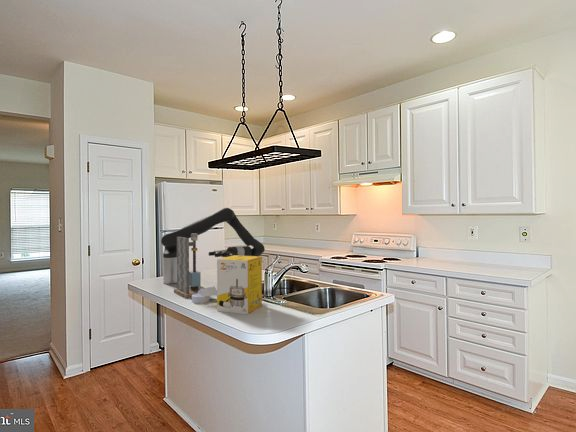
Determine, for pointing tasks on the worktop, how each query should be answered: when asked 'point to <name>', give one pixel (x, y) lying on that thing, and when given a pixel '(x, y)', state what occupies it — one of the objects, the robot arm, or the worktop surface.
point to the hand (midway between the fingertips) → (211, 254)
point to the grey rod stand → (185, 266)
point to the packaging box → (239, 284)
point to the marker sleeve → (194, 278)
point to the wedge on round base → (203, 295)
